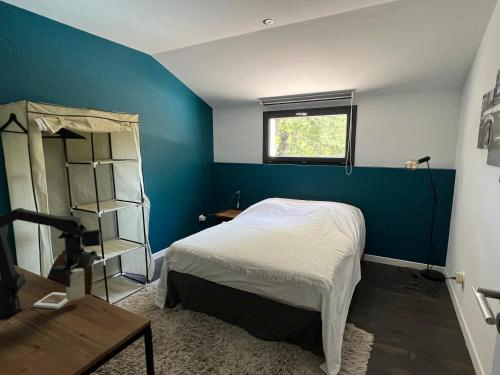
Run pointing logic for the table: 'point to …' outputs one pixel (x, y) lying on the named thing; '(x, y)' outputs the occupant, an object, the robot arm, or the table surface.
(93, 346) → the table surface
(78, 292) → the skincare box
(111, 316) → the table surface
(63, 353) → the table surface
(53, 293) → the white square tray
